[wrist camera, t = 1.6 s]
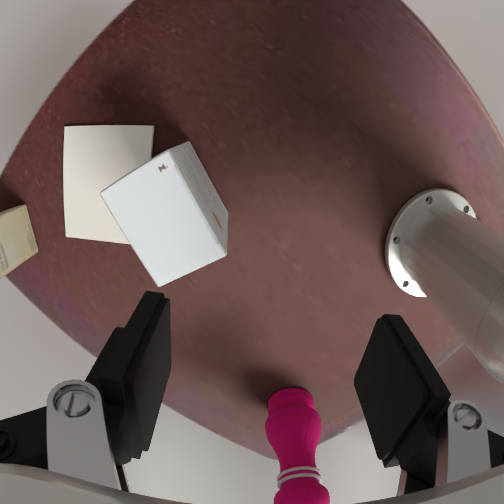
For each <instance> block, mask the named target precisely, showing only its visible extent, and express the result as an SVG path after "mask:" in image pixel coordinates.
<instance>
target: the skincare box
mask: <svg viewBox="0 0 504 504" xmlns="http://www.w3.org/2000/svg"><path fill="white" fill-rule="evenodd" d="M37 252H38V247H37V244H36V240H35V237H34V233H33V229H32V226H31V222H30V218H29V214H28V210H27V206H26V204H24V205H20V206H17V207H14V208H10V209H8V210H5V211H3V212H0V278H2V277H3V276H5V275H6V274H7V273H9V272H10V271H12V270H13V269H15V268H16V267H17V266H19V265H20V264H21V263H23V262H24V261H26V260H27V259H29V258H30V257H31V256H33V255H34V254H36V253H37Z"/></svg>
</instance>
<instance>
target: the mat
mask: <svg viewBox="0 0 504 504" xmlns="http://www.w3.org/2000/svg"><path fill="white" fill-rule="evenodd" d="M153 136H154V126H144V125H93V126H67V127H65V131H64V157H63V187H64V214H65V230H66V237H73V238H82V239H90V240H99V241H107V242H116V243H124V244H130V243H129V241H128V240H127V238H126V237H125V235H124V233H123V232H122V230H121V229H120V227H119V225H118V224H117V222H116V220H115V219H114V217H113V215H112V214H111V212H110V210H109V209H108V207H107V205H106V204H105V202H104V200H103V198H102V197H101V195H100V192H101V191H102V190H103V189H105V188H106V187H108V186H109V185H111V184H112V183H114V182H115V181H117V180H118V179H120V178H121V177H123V176H124V175H126V174H127V173H129V172H130V171H132V170H133V169H135V168H137V167H138V166H140V165H142V164H143V163H145V162H147V161H148V160H150V159H152V149H153Z"/></svg>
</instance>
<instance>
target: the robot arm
mask: <svg viewBox="0 0 504 504" xmlns="http://www.w3.org/2000/svg"><path fill="white" fill-rule="evenodd" d="M426 198H427V199H426ZM394 237H395V239H394ZM385 261H386V265H387V269H388V271H389V274H390V276H391V278H392V279H393V280H394V282H395V283H396V284H397V285H398V286H399V288H400V289H402V290H403V291H405V292H406V293H408V294H410V295H413V296H417V297H427V298H428V299H429V300H430V301H431V303H432V304H433V305H434V306H435V307H436V308H437V310H438V311H439V312H440V313H441V314H442V315H443V317H444V318H445V319H446V320H447V321H448V323H449V324H450V325H451V326H452V327H453V329H454V330H455V331H456V332H457V333H458V335H459V336H460V337H461V338H462V340H463V341H464V342H465V343H466V344H467V346H468V347H469V348H470V350H471V351H472V352H473V354H474V355H475V356H476V357H477V358H478V360H479V361H480V362H481V363H482V365H483V366H484V367H485V369H486V370H487V371H488V372H489V373H490V374H491V375H492V376H493V377H494V378H496V379H497V380H499V381H501V382H503V383H504V234H503V233H501V232H500V231H498V230H496V229H494V228H493V227H491V226H489V225H487V224H485V223H484V222H482V221H480V220H478V219H476V215H475V212H474V211H473V209H472V207H471V205H470V204H469V203H468V201H467V200H466V199H465V198H464V197H462V196H461V195H460V194H458V193H456V192H453V191H451V190H447V189H444V188H434V189H429V190H425V191H423V192H421V193H419V194H417V195H415V196H414V197H413V198H411V199H410V200H409V201H408V202H407V203H406V204H405V205H404V206H403V207H402V208H401V209H400V210H399V212H398V213H397V215H396V216H395V218H394V220H393V222H392V224H391V226H390V228H389V231H388V235H387V238H386V245H385ZM170 371H171V332H170V299H169V298H165V297H164V294H163V293H158V292H151V291H146V292H145V293H144V295H143V297H142V299H141V300H140V302H139V304H138V305H137V307H136V309H135V311H134V312H133V314H132V316H131V318H130V319H129V321H128V323H127V325H126V326H125V328H123V327H116V328H115V329H114V331H113V333H112V334H111V336H110V338H109V339H108V341H107V343H106V344H105V346H104V348H103V350H102V351H101V353H100V355H99V357H98V358H97V360H96V362H95V364H94V365H93V367H92V369H91V371H90V373H89V374H88V376H87V378H86V380H85V381H82V380H69V381H64V382H62V383H60V384H58V385H56V386H55V387H54V388H53V389H52V390H51V392H50V393H49V395H48V399H47V406H45V407H42V408H39V409H36V410H33V411H30V412H26V413H23V414H20V415H17V416H13V417H10V418H7V419H3V420H0V504H189V503H182V502H176V501H170V500H164V499H159V498H154V497H149V496H144V495H139V494H135V493H131V492H130V488H129V484H128V481H127V477H126V473H125V469H124V464H126V463H128V462H130V461H131V458H136V459H140V457H141V453H142V450H143V451H148V449H149V446H150V443H151V439H152V435H153V431H154V428H155V424H156V420H157V417H158V413H159V410H160V406H161V403H162V399H163V395H164V392H165V388H166V385H167V382H168V378H169V375H170ZM354 386H355V389H356V392H357V395H358V398H359V401H360V404H361V407H362V410H363V413H364V416H365V419H366V422H367V425H368V428H369V431H370V435H371V438H372V441H373V444H374V447H375V450H376V454H377V457H378V458H379V459H380V460H382V461H383V465H384V467H385V468H387V467H393V466H398V465H400V467H401V469H402V470H401V475H400V481H399V486H398V491H397V496H396V497H392V498H386V499H381V500H375V501H370V502H363V503H357V504H504V437H502V436H500V435H498V434H496V433H494V432H492V431H489V430H487V426H486V419H485V416H484V414H483V412H482V411H481V409H480V408H479V407H478V406H477V405H475V404H473V403H472V402H469V401H466V400H457V401H454V402H452V403H450V401H449V400H448V399H449V398H450V396H451V394H450V392H449V390H448V389H447V387H446V385H445V384H444V382H443V380H442V379H441V377H440V375H439V374H438V372H437V371H436V369H435V367H434V366H433V364H432V363H431V361H430V359H429V358H428V356H427V355H426V353H425V352H424V350H423V348H422V347H421V345H420V344H419V342H418V341H417V339H416V338H415V336H414V335H413V333H412V332H411V330H410V329H409V327H408V326H407V324H406V323H405V321H404V320H403V318H402V317H401V316H400V315H391V314H384V315H383V316H382V317H381V318H379V319H378V320H377V321H376V324H375V326H374V329H373V332H372V334H371V337H370V340H369V342H368V345H367V348H366V350H365V353H364V355H363V358H362V360H361V363H360V365H359V367H358V370H357V372H356V375H355V378H354Z"/></svg>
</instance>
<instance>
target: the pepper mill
mask: <svg viewBox="0 0 504 504" xmlns="http://www.w3.org/2000/svg"><path fill="white" fill-rule="evenodd" d="M268 414H269V417H268V418H267V420H266V423H265V430H266V435H267V438H268V441H269V443H270V444H271V446H272V447H273V449H274V451H275V452H276V454H277V456H278V459H279V462H280V470H281V471H280V474H279V475H278V476H277V481H278V484H277V486H278V488H279V489H280V490H279V491H278V492H277V493H276V495H275V498H274V504H329V503H330V498H329V497H330V496H329V492H328V490H327V489H326V488H325V487H324V486H323V485H321V482H322V478H321V472H320V470H319V469H317V468H316V465H315V450H316V447H317V443H318V440H319V437H320V434H321V419H320V416H319V414H318V413H317V412H316V411H315V410H314V402H313V398H312V396H311V394H310V393H309V392H307V391H306V390H303V389H300V388H287V389H283V390H280V391H278V392H276V393H275V394H273V395H272V396H271V397H270V399H269V401H268Z"/></svg>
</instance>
